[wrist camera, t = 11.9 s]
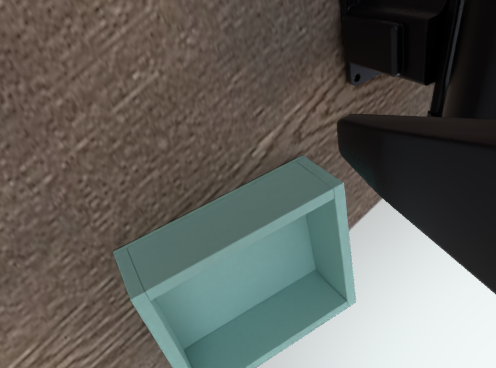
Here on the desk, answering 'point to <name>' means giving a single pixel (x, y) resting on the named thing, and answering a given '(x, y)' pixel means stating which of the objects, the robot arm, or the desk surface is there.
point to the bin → (245, 270)
